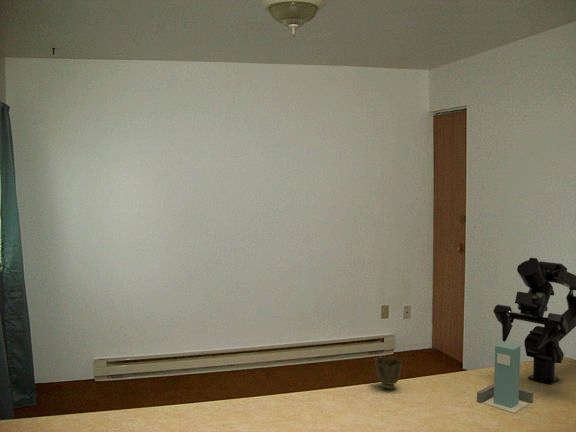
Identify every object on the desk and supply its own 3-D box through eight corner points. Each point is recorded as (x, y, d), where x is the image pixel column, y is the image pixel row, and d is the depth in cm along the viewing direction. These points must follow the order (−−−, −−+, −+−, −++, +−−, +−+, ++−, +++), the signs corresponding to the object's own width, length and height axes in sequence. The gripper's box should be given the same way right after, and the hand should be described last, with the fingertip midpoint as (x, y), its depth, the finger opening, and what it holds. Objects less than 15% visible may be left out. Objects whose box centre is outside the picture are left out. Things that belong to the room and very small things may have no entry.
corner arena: (496, 391, 147) (496, 382, 147) (533, 401, 140) (533, 392, 140) (476, 401, 140) (477, 392, 140) (514, 413, 133) (514, 403, 133)
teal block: (500, 398, 142) (502, 342, 141) (518, 403, 138) (520, 345, 138) (493, 403, 138) (494, 345, 137) (511, 408, 135) (513, 349, 134)
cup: (400, 383, 152) (400, 356, 152) (402, 393, 145) (403, 364, 144) (373, 382, 153) (373, 355, 152) (375, 392, 145) (375, 363, 145)
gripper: (497, 276, 154) (478, 320, 147) (566, 285, 141) (549, 334, 134) (507, 299, 160) (490, 343, 153) (575, 310, 147) (559, 358, 140)
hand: (520, 344), depth 145 cm, fingers open, 9 cm apart
